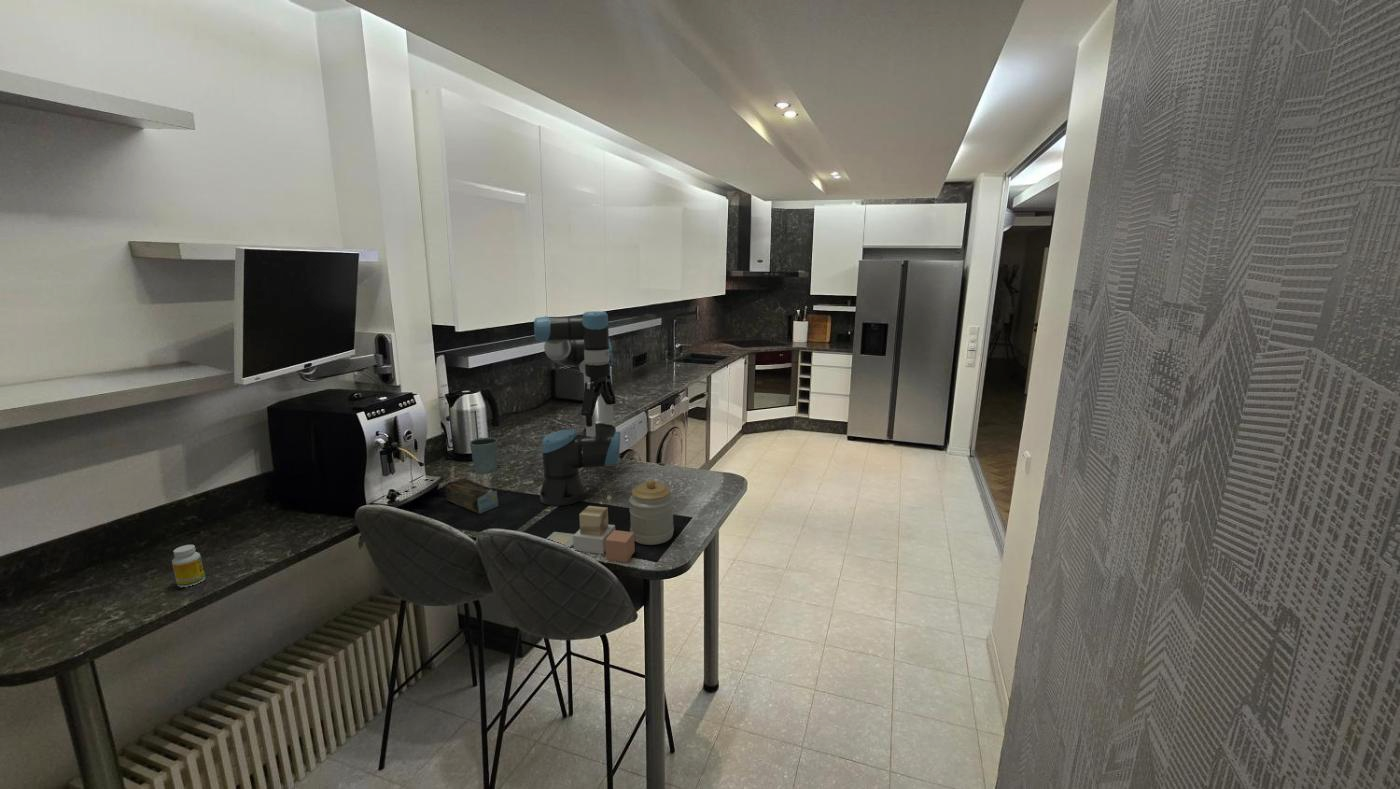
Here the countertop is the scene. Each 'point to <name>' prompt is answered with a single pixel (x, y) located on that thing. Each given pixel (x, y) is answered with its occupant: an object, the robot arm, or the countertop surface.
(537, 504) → the countertop surface
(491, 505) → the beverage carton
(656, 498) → the jar
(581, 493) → the robot arm
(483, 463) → the teal cup
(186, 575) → the supplement bottle
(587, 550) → the grey base block
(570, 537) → the card
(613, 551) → the terracotta block
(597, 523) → the maple block
